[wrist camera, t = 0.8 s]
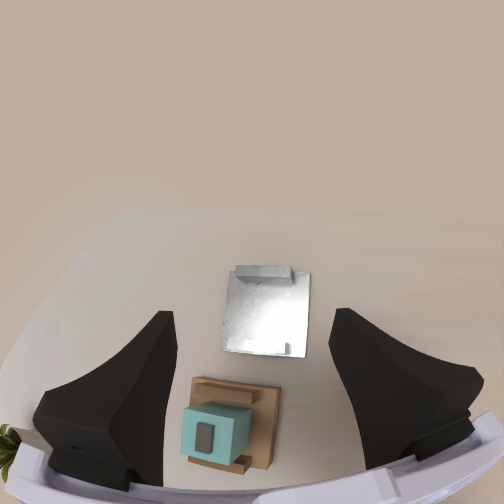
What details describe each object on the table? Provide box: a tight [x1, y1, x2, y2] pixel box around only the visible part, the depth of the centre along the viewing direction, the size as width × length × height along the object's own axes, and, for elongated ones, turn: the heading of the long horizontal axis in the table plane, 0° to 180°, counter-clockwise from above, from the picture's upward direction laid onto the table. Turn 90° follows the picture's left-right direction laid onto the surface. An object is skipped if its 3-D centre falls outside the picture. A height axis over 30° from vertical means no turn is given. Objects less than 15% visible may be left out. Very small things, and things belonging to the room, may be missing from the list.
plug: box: [181, 401, 252, 466], centre depth 19 cm, size 4×4×6 cm
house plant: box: [0, 424, 53, 483], centre depth 19 cm, size 14×14×16 cm
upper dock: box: [188, 377, 281, 475], centre depth 22 cm, size 8×8×4 cm
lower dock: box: [221, 265, 310, 357], centre depth 26 cm, size 8×8×3 cm
